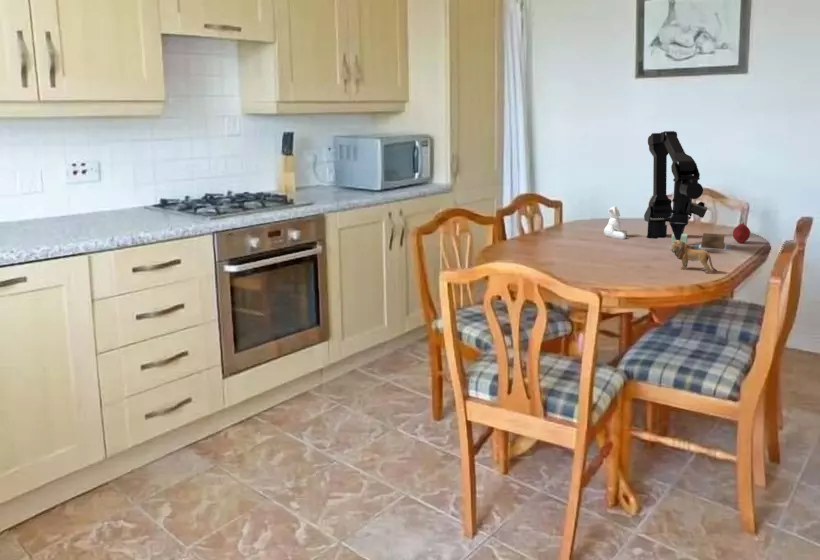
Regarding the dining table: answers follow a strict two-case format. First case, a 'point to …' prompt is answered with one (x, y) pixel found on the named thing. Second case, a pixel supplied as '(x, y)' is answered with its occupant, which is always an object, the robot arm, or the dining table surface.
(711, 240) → the walnut base
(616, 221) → the white creature statuette
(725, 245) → the blueprint mat
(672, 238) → the sage block
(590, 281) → the dining table surface
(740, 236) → the onion
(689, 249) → the lion figurine
